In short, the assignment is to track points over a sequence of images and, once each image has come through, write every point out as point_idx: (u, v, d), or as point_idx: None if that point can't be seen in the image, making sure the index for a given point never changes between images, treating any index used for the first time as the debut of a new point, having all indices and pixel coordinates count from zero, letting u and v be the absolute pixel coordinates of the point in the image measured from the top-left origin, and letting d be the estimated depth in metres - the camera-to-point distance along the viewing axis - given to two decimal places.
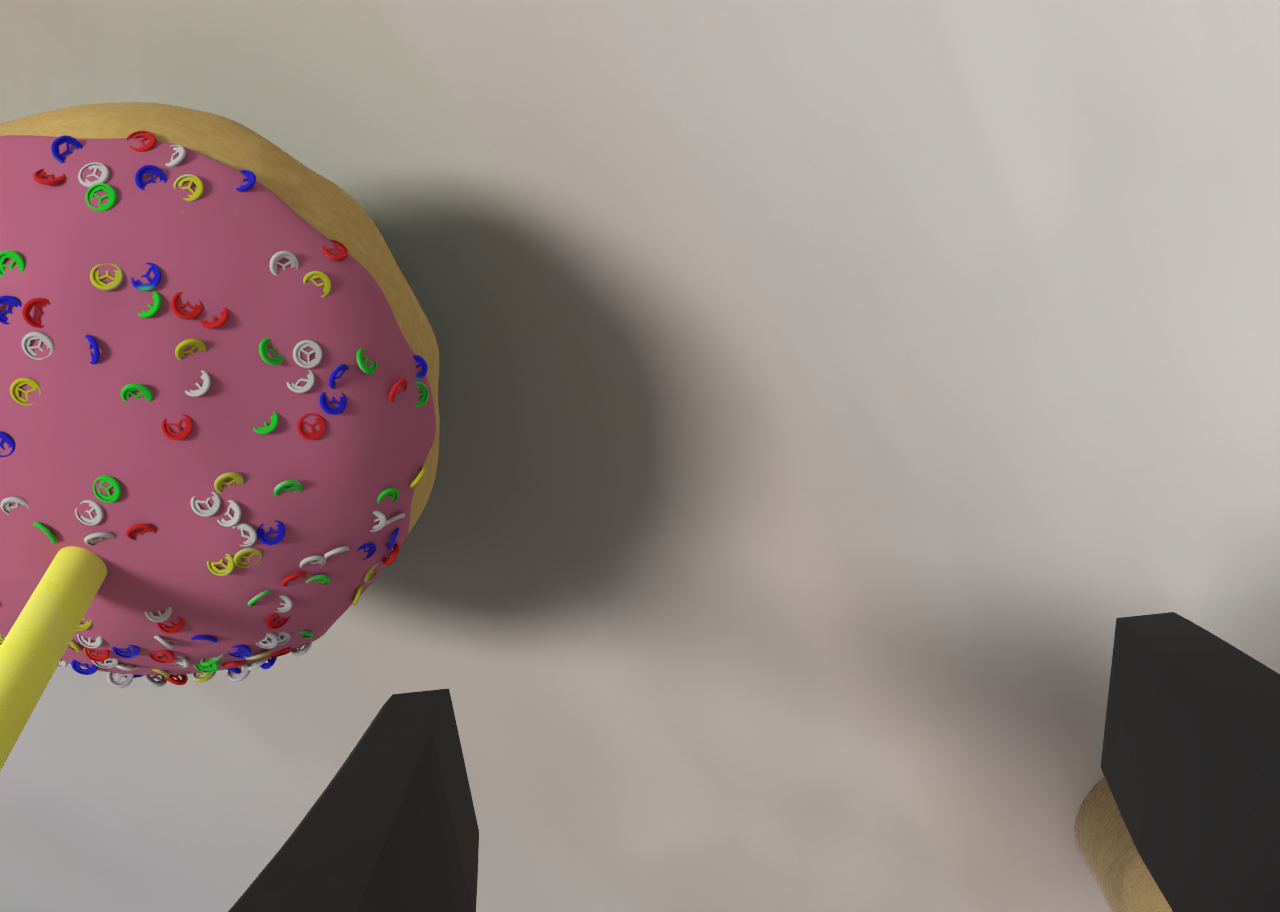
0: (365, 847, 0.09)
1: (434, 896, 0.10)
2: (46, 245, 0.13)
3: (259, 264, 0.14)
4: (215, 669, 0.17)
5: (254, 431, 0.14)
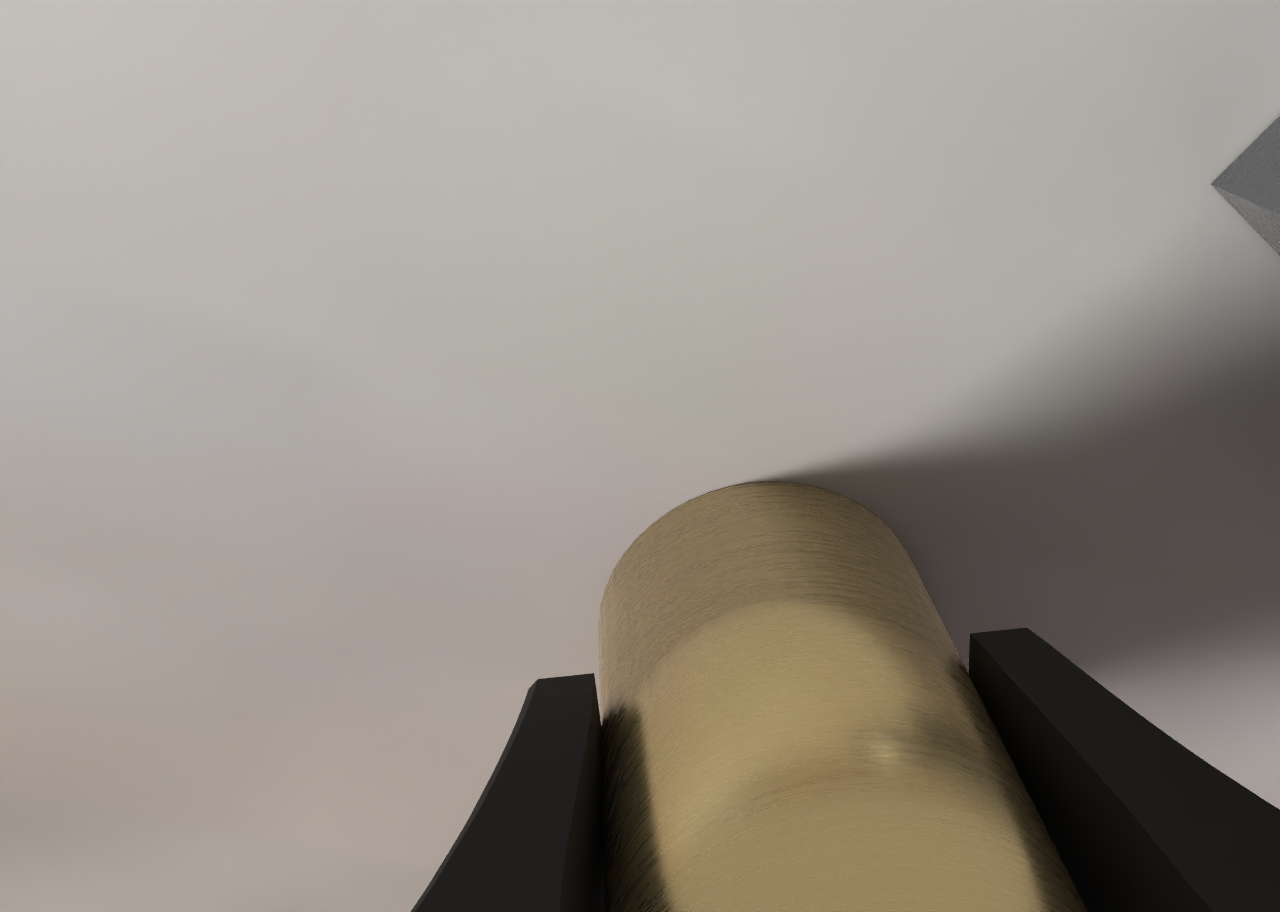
0: (552, 827, 0.09)
1: (598, 879, 0.10)
2: None
3: None
4: None
5: None
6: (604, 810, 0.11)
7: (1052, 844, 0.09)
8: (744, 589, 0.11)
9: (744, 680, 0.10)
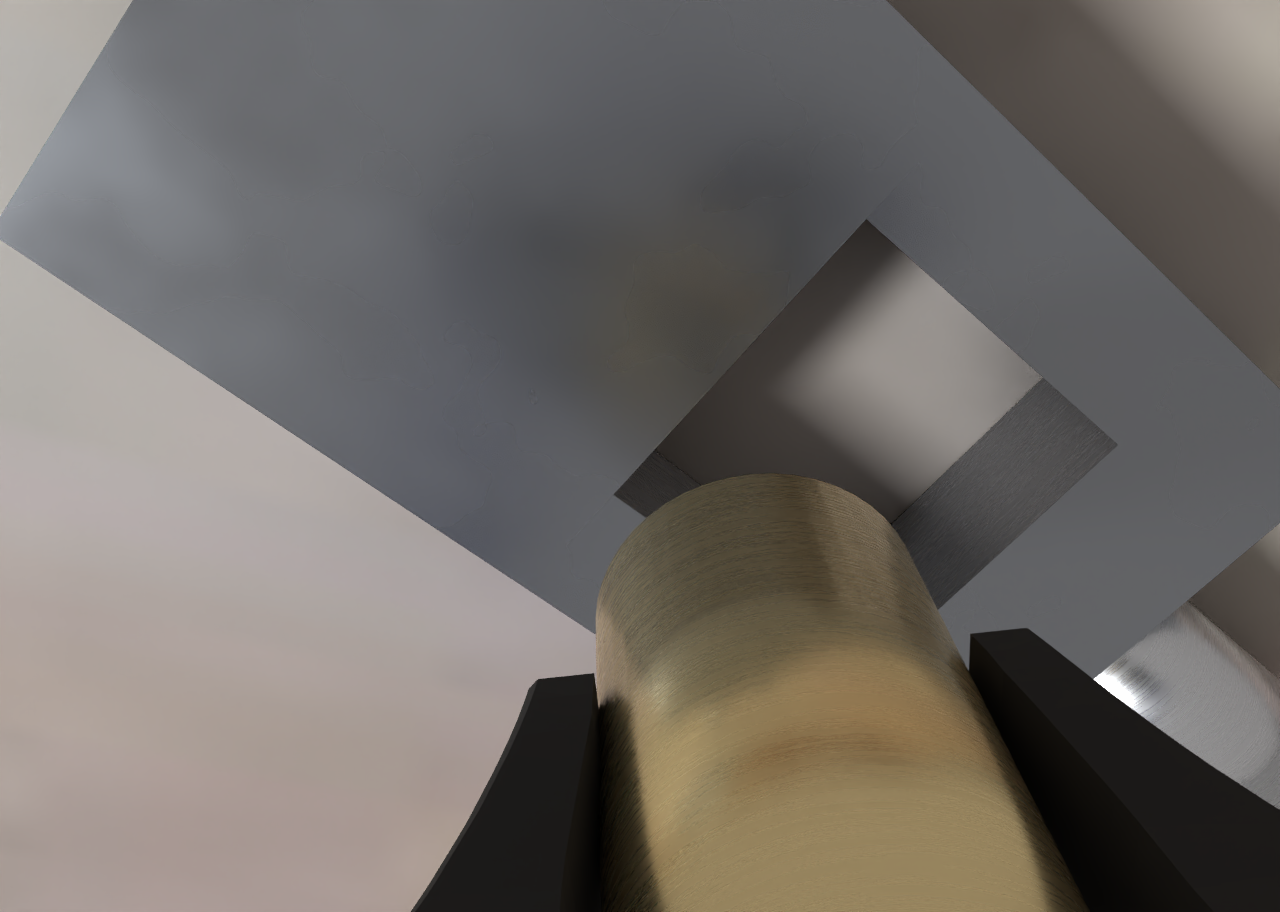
0: (552, 827, 0.09)
1: (598, 879, 0.10)
2: None
3: None
4: None
5: None
6: (600, 800, 0.11)
7: (1048, 832, 0.09)
8: (740, 579, 0.11)
9: (740, 670, 0.10)
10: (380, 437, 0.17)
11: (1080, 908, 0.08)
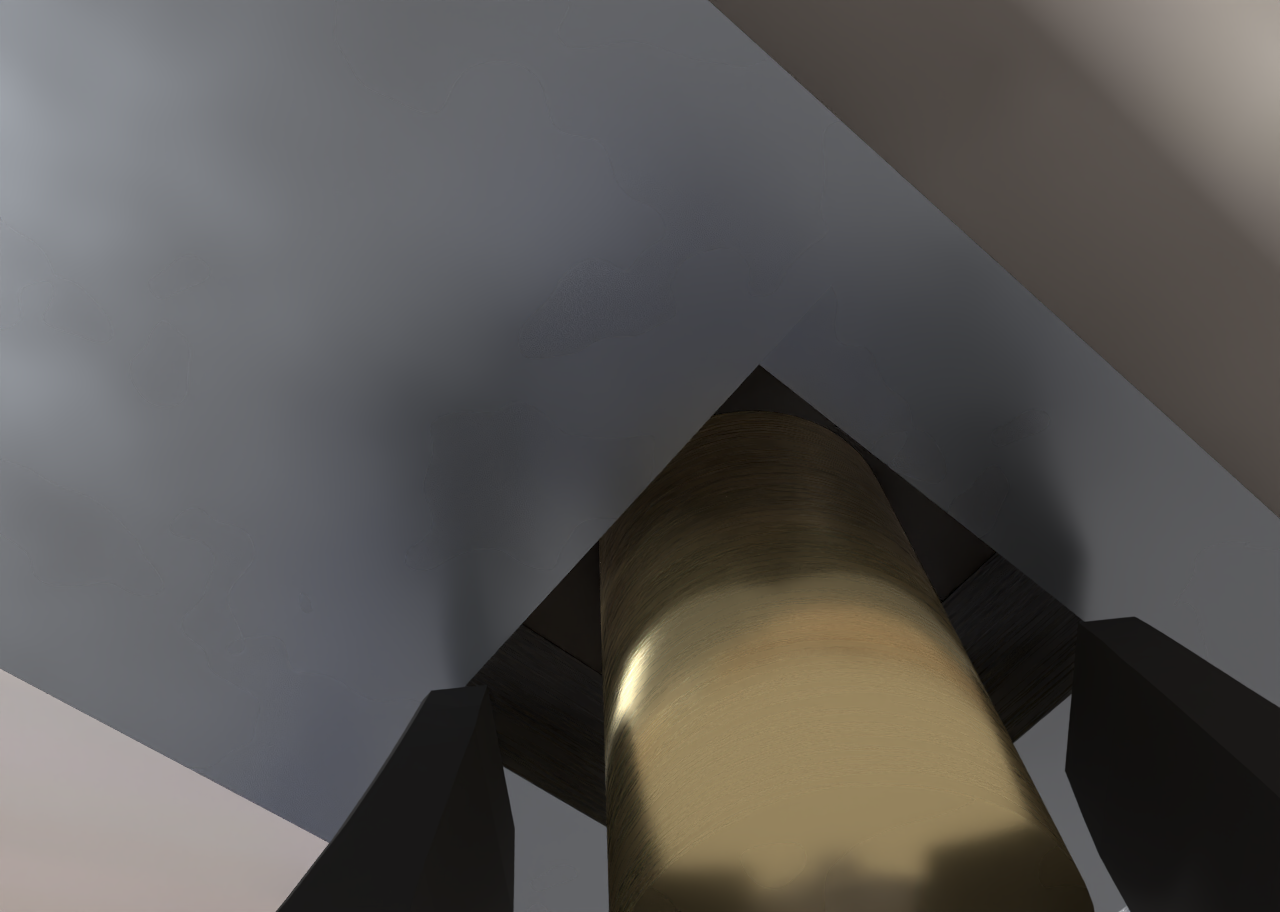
0: (415, 841, 0.09)
1: (477, 891, 0.10)
2: None
3: None
4: None
5: None
6: (604, 684, 0.12)
7: (987, 695, 0.11)
8: (725, 494, 0.13)
9: (725, 563, 0.12)
10: (98, 658, 0.12)
11: (1008, 745, 0.10)
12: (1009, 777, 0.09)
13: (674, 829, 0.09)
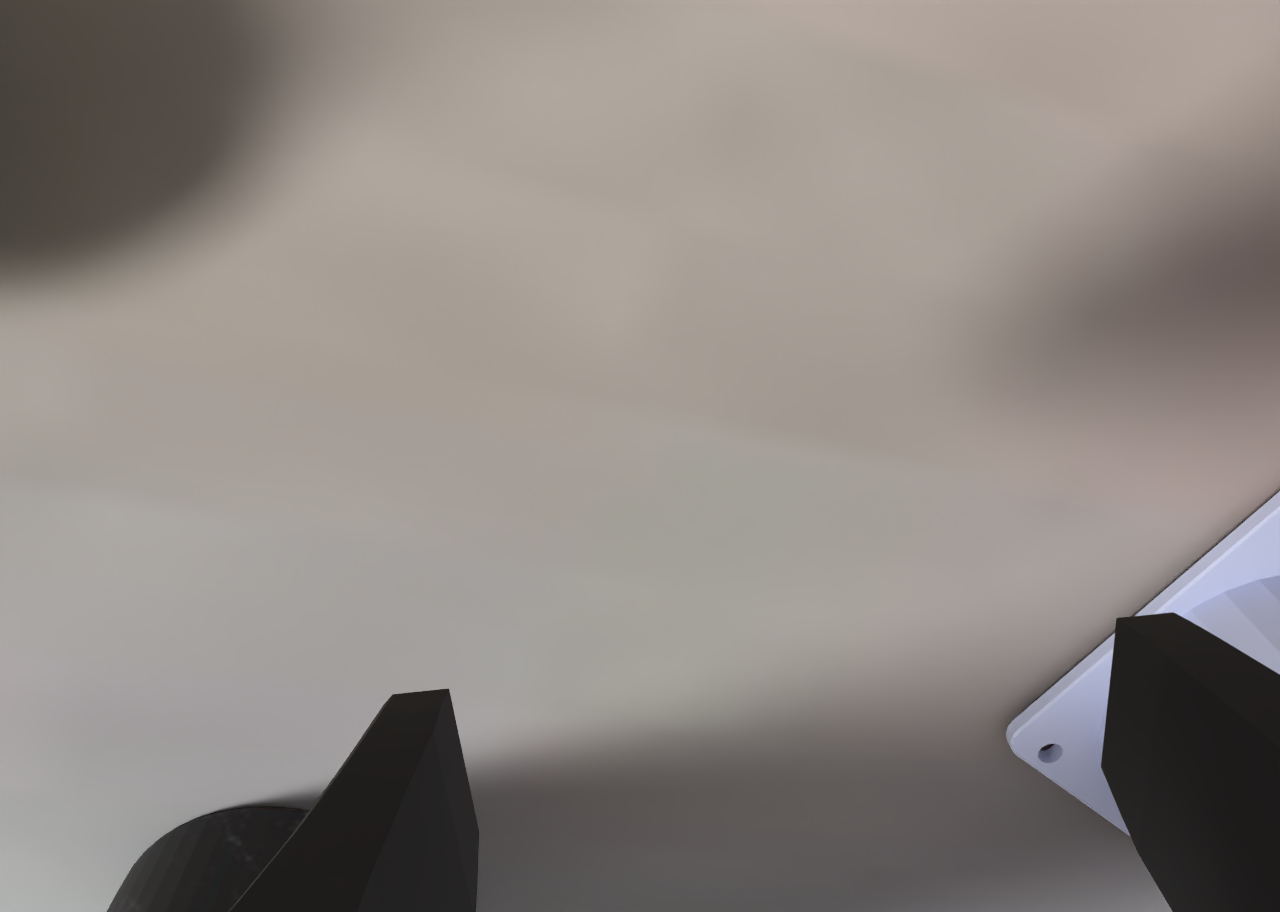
0: (365, 847, 0.09)
1: (434, 896, 0.10)
2: None
3: None
4: None
5: None
6: None
7: None
8: None
9: None
10: None
11: None
12: None
13: None
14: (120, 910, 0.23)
